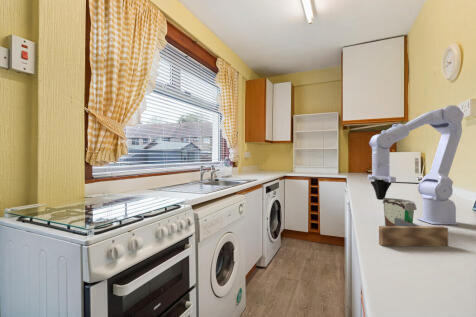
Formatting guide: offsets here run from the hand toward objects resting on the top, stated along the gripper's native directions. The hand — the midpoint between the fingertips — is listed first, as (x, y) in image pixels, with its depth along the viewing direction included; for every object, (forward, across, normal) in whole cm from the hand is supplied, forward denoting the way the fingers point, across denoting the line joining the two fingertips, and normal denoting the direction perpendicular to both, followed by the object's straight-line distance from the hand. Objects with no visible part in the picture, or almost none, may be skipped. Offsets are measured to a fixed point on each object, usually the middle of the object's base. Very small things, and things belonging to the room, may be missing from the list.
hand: (380, 199), depth 90 cm
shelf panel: (+8, +26, -7) cm, 28 cm away
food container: (+9, +12, 0) cm, 15 cm away
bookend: (+8, +20, -7) cm, 23 cm away
